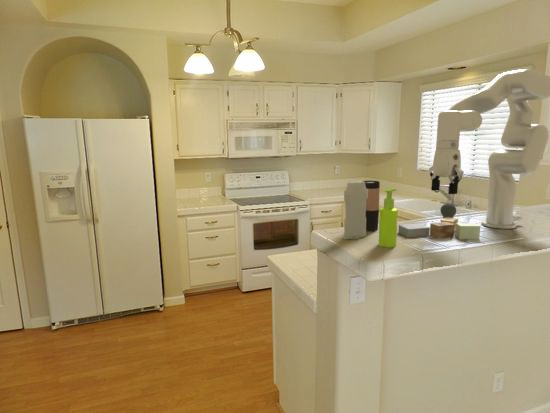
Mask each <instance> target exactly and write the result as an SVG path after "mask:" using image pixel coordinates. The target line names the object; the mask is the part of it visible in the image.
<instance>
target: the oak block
mask: <svg viewBox="0 0 550 413" xmlns="http://www.w3.org/2000/svg"><path fill="white" fill-rule="evenodd" d="M440 222H448V223H451V224H454V233H455V229H456V223H459V218H458V217H453V218H452V217H445V218H443V217H442V219H440Z"/></svg>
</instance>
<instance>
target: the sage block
mask: <svg viewBox="0 0 550 413" xmlns="http://www.w3.org/2000/svg"><path fill="white" fill-rule="evenodd" d="M480 234H481V225H479V224H478V223H474V222H473V223H472V222H471V223H469V222H467V223H466V222H465V223H461V222H458V223H456V229H455V232H454V235H455V236H454V237H456V236H457V237H456V238H457V239H459V240H479V239H480V236H481V235H480Z"/></svg>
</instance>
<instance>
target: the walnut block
mask: <svg viewBox="0 0 550 413" xmlns="http://www.w3.org/2000/svg"><path fill="white" fill-rule="evenodd" d="M429 227H430V231H429V236H430V237H431V238H435V239H437V240H438V239H446V238H447V239H449V238H454V237H455V236H454V235H455V232H454V224H451V223H448V222H441V221H440V222H430V224H429Z"/></svg>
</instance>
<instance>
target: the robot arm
mask: <svg viewBox="0 0 550 413" xmlns="http://www.w3.org/2000/svg"><path fill="white" fill-rule="evenodd" d="M549 97H550V75H548V74H545V73H542V72H539V71H537V70H533V69H530V68H529V69H528V68H524V69H517V70H511V71H507V72H503V73H501V74H500V73H499V74H498V75H497V76H496V77H495V78H493V79H492V80H491V81H490V82H489V83H488V84H486V86H484V87H483V88H482V89H481V90H480V91H478V92H476V93H474V94H472V95H469V96H468V97H466V98H464V99H462V100H460V101H459V102H457V103H456V104H454V105H452V106H451V107H450V108H449V109H448V110H444V111H443V110H442V111H440V112H439V113H438V116H437V126H436V127H437V128H436V130H437V131H436V140H435V141H436V142H435V143H436V144H435V151H434V155H433V161H432V162H433V163H432V166H430V167H429V168H428V170H429V176H430V180H431V187H430V188H431V191H434V192H435V191H440V188H441V187H440V186H441V180H440V179H441V177H442V178H448V179H449V181H450V182H449V183H448V184H449V185H448V195H457V194H458V189H459V184H460V181H461V180H462V179H463V176H464V173H465V172H464V170H462V167H461V166H462V165H461V163H462V159H461V158H462V156H461V150H460V149H459V146H460V133H467V132H474V131H476V130H478V129H479V128H480V127H481V126H482V124H483V116H482V115H481V114H484V113H486V112H487V113H488V112H490V111H492V110H495V109H496V108H497V107H498V106H499V105H501V103H502V102H504V101H505V99H506V102H507V104H508V107H509V116H508V119H507V121H506V124H505V127H504V129H503V132H502V136H501V138H500V142H501V144H502V146H503V147H505V148H508V149H498V150H495V151H492V153H491V154H490V155H489V157H488V161H487V164H488V173H489V182H488V183H489V184H488V194H487V206H486V216H485V219H483V220H481V223H480V224H481V225H482V226H484V227H488V228H491V229H501V230H507V229H509V230H510V229H516V228H517V223H516V222H517V221H522V220H523V219H522V218H523V217H522V216H521V215H515V214H514V208H515V200H516V199H515V198H516V192H517V191H516V190H517V183H516V182H517V181H516V179H515V177H514V176H513V175H522V176H523V175H524V176H530V175H532V174H534V173H535V172H536V171H537V170H538V167H539V165H540V162H541V160H542V158H543V155H544V152H545V151H546V147H547V144H548V141H549V130H548V128H547V127H546V125H544V124H540V123H533V122H534V118H535V112H534V109H533V108H532V106H531V105H530V103H529V102H528V101H536V100H538V101H540V100H544V99H548V98H549ZM515 221H516V222H515Z"/></svg>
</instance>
